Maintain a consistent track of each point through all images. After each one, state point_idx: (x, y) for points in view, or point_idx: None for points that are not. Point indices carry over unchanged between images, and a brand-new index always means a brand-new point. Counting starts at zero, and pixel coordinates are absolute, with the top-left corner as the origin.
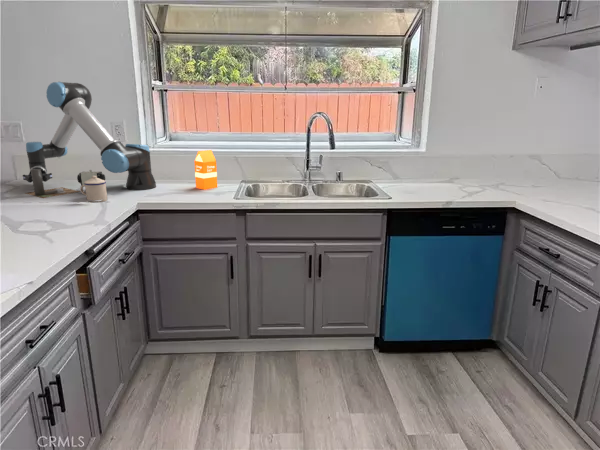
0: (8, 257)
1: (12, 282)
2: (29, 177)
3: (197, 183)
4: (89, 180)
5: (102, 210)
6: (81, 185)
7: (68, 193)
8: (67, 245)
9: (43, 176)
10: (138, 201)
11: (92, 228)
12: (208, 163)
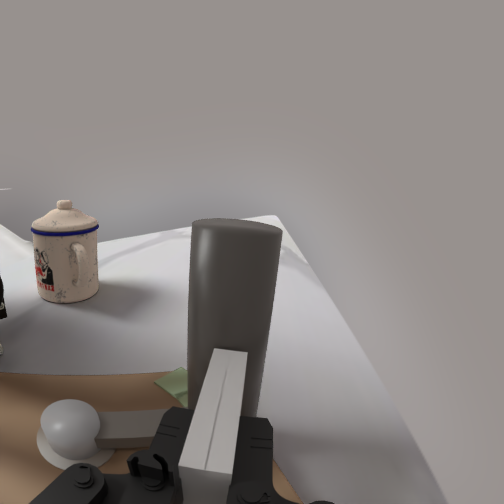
0: (282, 227)
1: (274, 217)
2: (322, 501)
3: None
4: (83, 214)
5: (128, 252)
6: (6, 315)
7: (64, 379)
8: None
9: (94, 486)
10: (30, 256)
11: (191, 230)
12: None
